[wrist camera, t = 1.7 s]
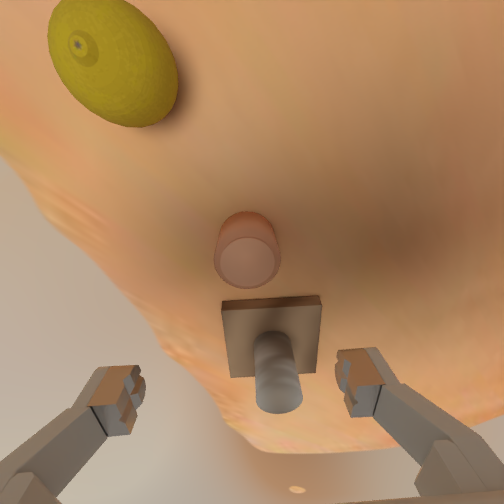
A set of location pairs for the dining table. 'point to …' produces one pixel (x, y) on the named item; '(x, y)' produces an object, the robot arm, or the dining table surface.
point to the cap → (247, 251)
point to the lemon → (113, 60)
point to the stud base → (271, 319)
